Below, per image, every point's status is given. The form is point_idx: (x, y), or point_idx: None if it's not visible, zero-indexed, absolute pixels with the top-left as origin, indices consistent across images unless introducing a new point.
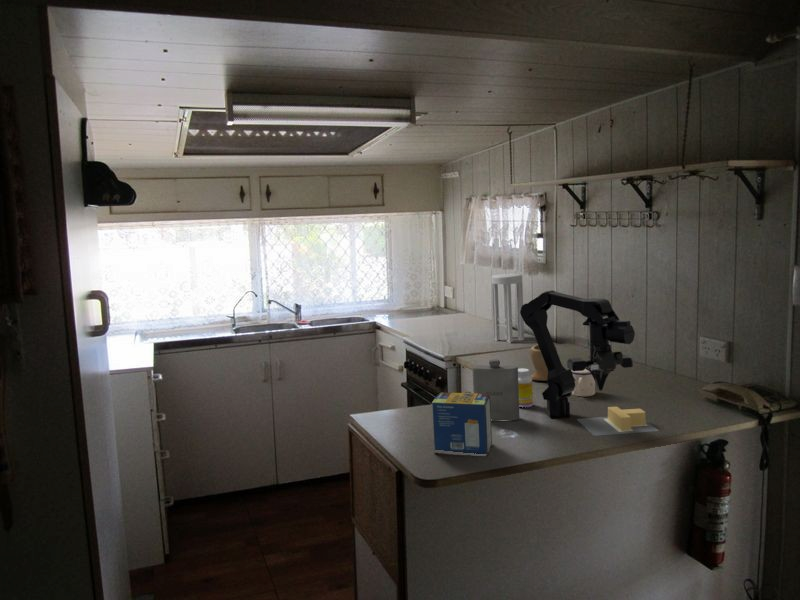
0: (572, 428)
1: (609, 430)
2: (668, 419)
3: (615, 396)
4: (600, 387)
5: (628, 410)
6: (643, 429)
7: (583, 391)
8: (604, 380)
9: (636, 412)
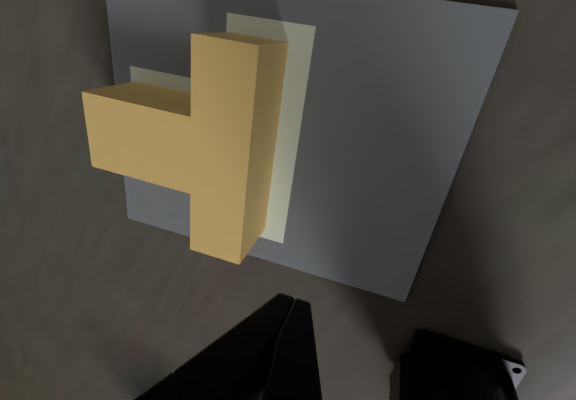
0: (522, 210)
1: (352, 71)
2: (30, 117)
3: (133, 389)
4: (291, 321)
5: (158, 164)
6: (170, 12)
7: None
8: (191, 380)
9: (128, 111)
